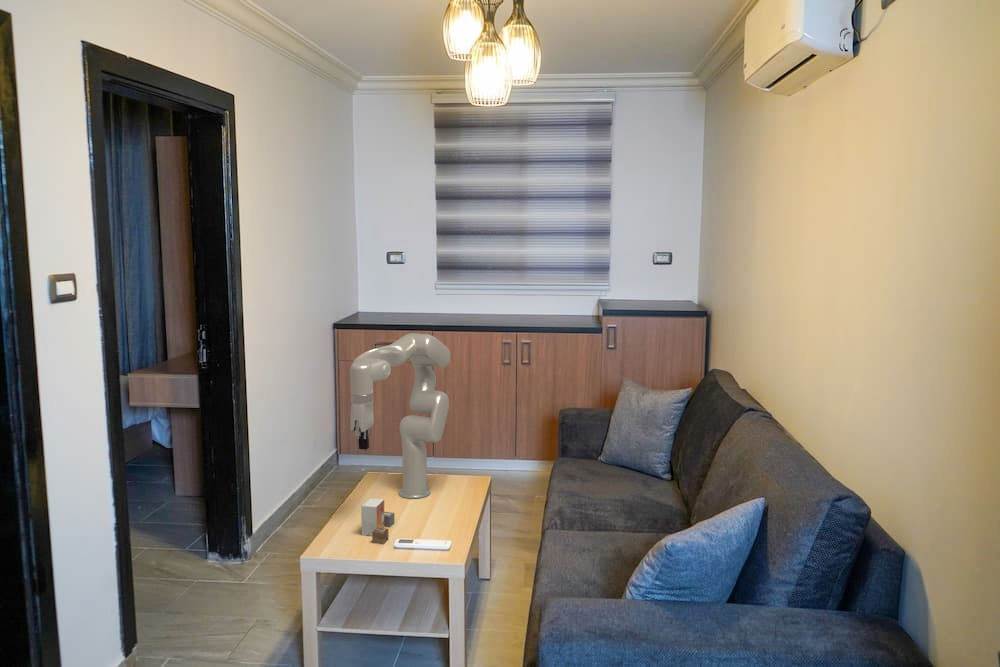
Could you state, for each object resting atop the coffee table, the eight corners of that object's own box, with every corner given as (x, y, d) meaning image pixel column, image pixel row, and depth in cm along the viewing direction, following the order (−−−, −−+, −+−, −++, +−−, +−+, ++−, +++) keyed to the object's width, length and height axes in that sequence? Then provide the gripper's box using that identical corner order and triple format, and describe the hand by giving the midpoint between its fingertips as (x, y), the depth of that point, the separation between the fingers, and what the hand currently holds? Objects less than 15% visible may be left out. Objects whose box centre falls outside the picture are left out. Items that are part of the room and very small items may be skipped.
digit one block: (384, 522, 267) (384, 511, 267) (394, 523, 266) (394, 512, 266) (379, 526, 264) (379, 515, 263) (389, 527, 263) (389, 516, 262)
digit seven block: (377, 538, 253) (377, 526, 252) (388, 540, 252) (388, 528, 251) (372, 543, 249) (372, 531, 249) (383, 544, 248) (383, 532, 248)
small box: (376, 536, 254) (376, 507, 253) (361, 535, 256) (360, 505, 254) (384, 527, 262) (384, 499, 261) (369, 526, 263) (369, 497, 262)
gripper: (361, 392, 268) (363, 441, 271) (342, 402, 254) (344, 454, 257) (380, 393, 267) (382, 443, 270) (363, 404, 252) (365, 456, 255)
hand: (363, 448), depth 263 cm, fingers closed
